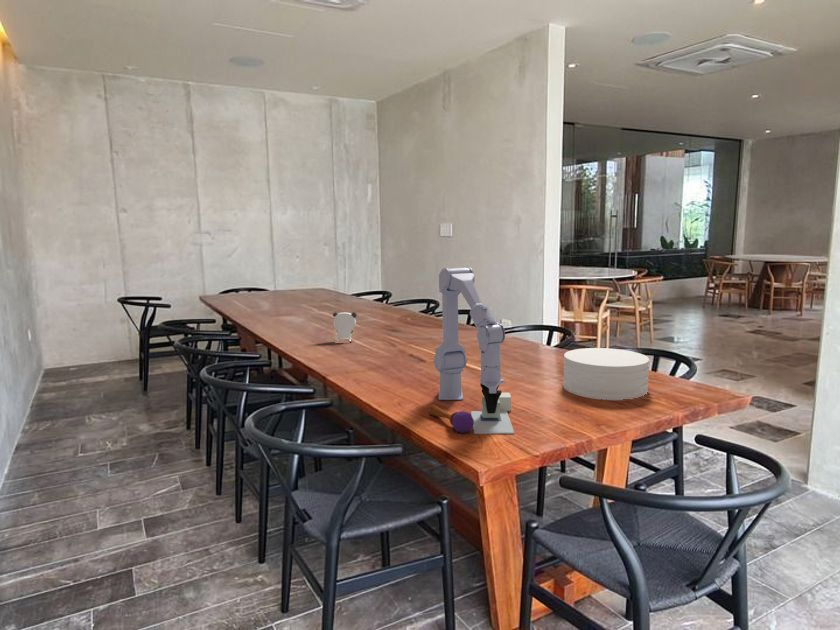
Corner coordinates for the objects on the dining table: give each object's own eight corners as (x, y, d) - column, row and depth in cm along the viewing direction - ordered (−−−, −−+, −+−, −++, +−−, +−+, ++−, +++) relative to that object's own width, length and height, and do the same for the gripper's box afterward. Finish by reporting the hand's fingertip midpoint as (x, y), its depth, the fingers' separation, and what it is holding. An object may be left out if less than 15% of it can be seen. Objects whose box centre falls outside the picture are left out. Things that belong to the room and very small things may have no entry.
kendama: (441, 400, 171) (478, 413, 154) (439, 419, 171) (476, 435, 154) (424, 399, 168) (460, 413, 151) (422, 419, 168) (458, 435, 151)
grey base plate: (470, 412, 171) (470, 411, 171) (506, 412, 170) (506, 411, 170) (474, 433, 153) (474, 432, 153) (514, 433, 153) (514, 432, 152)
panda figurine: (357, 339, 288) (357, 310, 285) (356, 343, 276) (355, 313, 274) (334, 339, 287) (333, 310, 285) (332, 344, 276) (331, 314, 274)
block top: (493, 406, 177) (493, 392, 176) (509, 406, 177) (509, 392, 176) (494, 411, 172) (495, 397, 171) (511, 411, 172) (511, 397, 171)
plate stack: (547, 383, 202) (548, 352, 201) (609, 374, 213) (610, 345, 211) (598, 405, 177) (600, 370, 175) (666, 394, 187) (668, 361, 185)
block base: (481, 412, 167) (481, 397, 166) (498, 412, 167) (498, 397, 166) (482, 417, 162) (482, 402, 161) (500, 417, 162) (500, 402, 161)
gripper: (507, 371, 155) (506, 418, 157) (501, 359, 169) (501, 402, 171) (482, 371, 155) (481, 418, 157) (478, 359, 169) (478, 402, 171)
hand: (490, 410), depth 164 cm, fingers closed on block base, 5 cm apart
